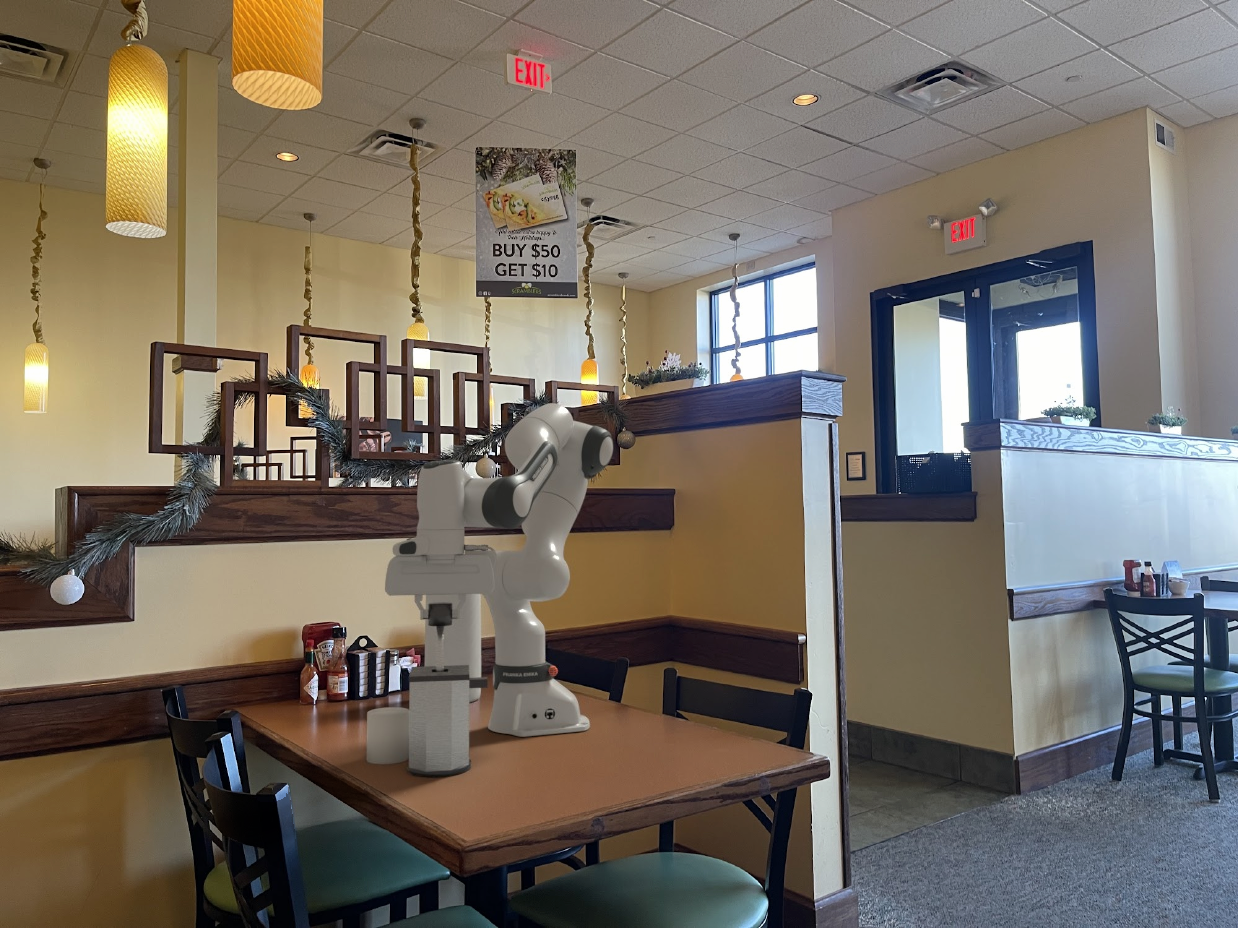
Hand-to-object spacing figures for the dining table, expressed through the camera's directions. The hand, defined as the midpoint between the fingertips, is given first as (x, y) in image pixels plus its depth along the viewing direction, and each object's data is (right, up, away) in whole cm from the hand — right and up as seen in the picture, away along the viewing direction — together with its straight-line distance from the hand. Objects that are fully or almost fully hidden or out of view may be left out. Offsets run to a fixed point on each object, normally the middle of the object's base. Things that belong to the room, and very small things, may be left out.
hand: (440, 618), depth 169 cm
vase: (-9, -32, +62) cm, 70 cm away
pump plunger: (0, -18, -1) cm, 18 cm away
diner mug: (-11, -28, +7) cm, 31 cm away
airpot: (+2, -28, -1) cm, 28 cm away
